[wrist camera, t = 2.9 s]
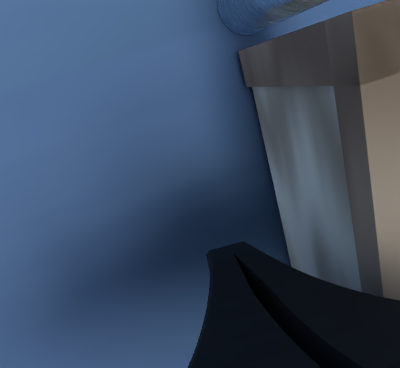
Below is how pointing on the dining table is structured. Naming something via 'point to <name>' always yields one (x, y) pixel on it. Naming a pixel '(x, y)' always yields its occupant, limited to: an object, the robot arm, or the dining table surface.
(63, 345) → the dining table surface
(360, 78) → the gate
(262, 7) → the latch post
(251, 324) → the robot arm
